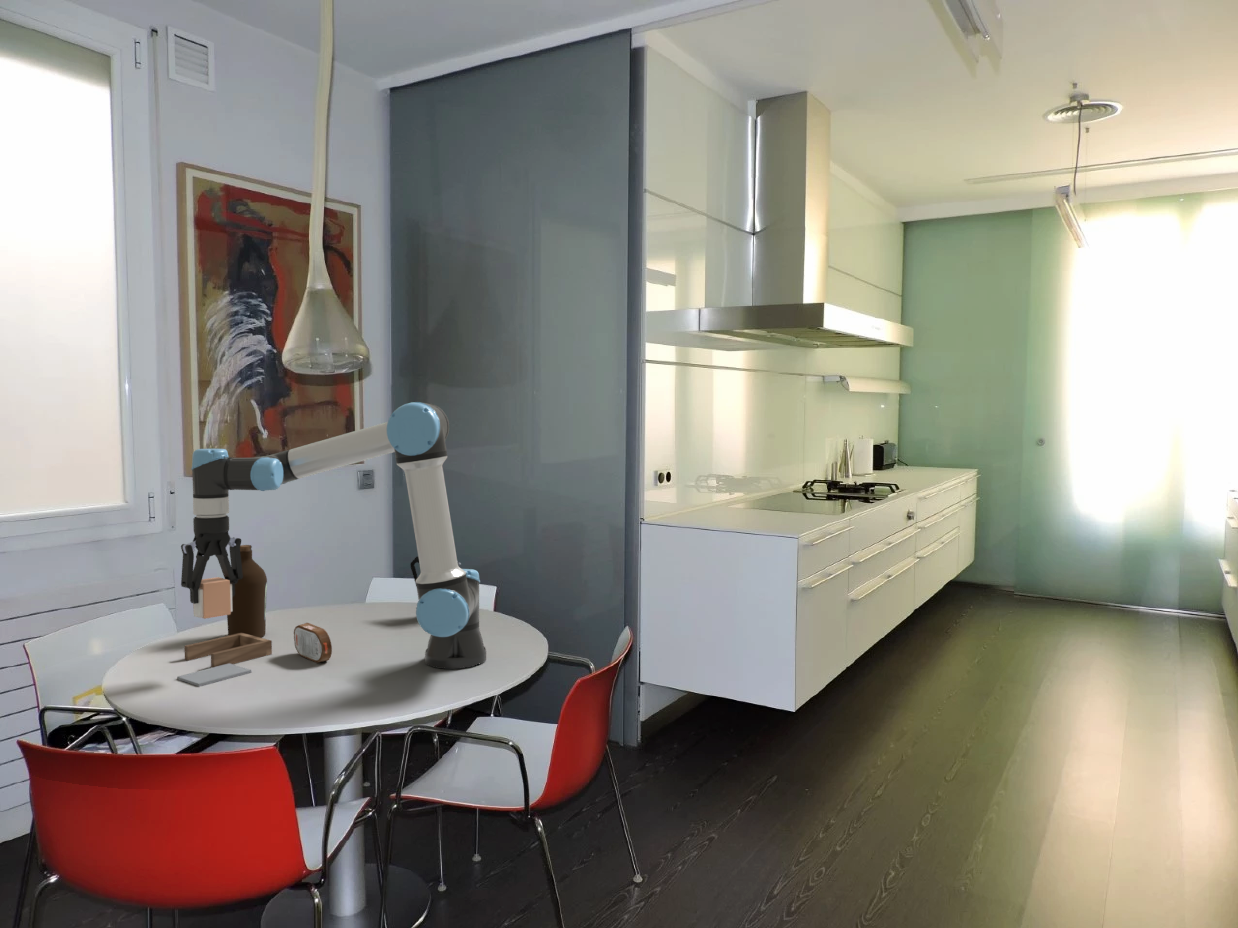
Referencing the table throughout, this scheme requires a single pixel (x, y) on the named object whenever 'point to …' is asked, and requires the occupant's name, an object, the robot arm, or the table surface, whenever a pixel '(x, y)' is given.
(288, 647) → the table surface
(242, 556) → the olive oil
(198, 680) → the mat
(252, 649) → the bay
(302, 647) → the tin
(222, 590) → the block
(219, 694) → the table surface
